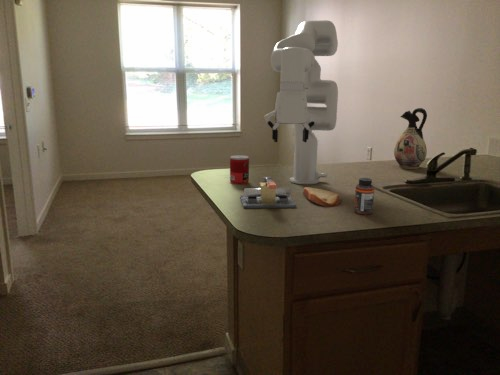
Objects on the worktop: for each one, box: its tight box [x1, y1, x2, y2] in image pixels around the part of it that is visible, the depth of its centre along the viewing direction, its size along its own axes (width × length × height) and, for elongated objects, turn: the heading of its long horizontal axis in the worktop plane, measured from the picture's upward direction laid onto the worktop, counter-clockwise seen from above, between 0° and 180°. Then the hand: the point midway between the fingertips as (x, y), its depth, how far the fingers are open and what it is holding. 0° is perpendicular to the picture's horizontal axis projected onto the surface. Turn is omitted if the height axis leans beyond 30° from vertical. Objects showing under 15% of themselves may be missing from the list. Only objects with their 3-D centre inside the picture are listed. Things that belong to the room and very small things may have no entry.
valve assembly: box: [239, 182, 297, 209], centre depth 157 cm, size 18×14×8 cm
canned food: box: [229, 154, 250, 185], centre depth 186 cm, size 8×8×11 cm
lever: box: [262, 176, 277, 189], centre depth 151 cm, size 13×3×1 cm, turn 6°
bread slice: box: [302, 186, 342, 208], centre depth 163 cm, size 18×18×4 cm
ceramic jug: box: [393, 107, 428, 170], centre depth 221 cm, size 17×15×30 cm
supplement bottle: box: [353, 177, 375, 215], centre depth 146 cm, size 6×6×11 cm
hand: (290, 141), depth 145 cm, fingers open, 9 cm apart
